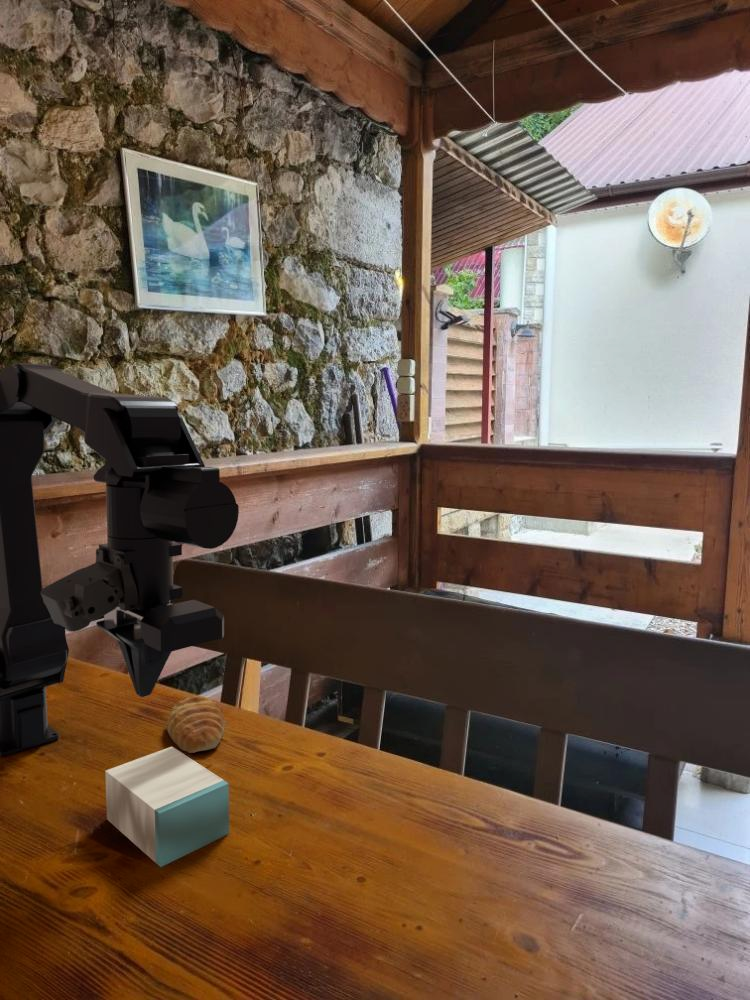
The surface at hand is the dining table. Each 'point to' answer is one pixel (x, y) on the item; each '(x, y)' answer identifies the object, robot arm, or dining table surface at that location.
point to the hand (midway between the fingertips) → (143, 695)
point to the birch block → (167, 804)
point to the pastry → (196, 724)
